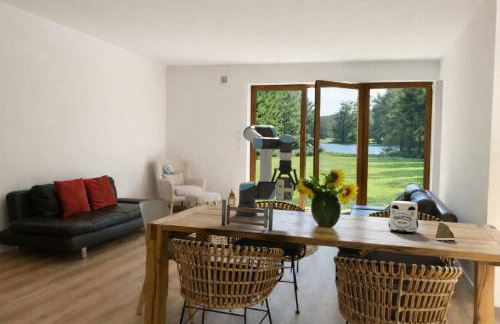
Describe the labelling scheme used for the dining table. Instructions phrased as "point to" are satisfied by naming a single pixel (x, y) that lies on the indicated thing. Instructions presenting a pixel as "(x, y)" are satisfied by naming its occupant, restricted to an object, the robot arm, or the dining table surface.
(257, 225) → the gate leaf
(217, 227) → the dining table surface
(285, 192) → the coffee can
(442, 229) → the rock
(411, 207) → the milk container
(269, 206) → the gate posts
